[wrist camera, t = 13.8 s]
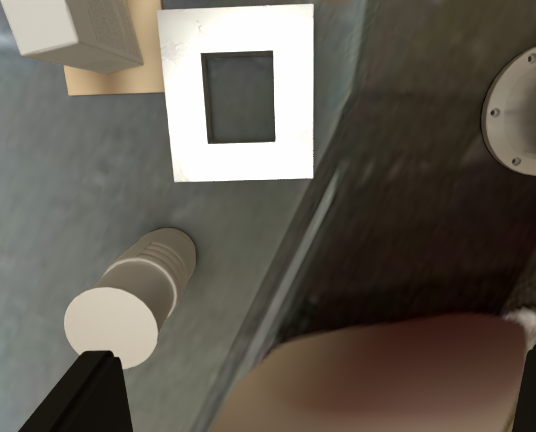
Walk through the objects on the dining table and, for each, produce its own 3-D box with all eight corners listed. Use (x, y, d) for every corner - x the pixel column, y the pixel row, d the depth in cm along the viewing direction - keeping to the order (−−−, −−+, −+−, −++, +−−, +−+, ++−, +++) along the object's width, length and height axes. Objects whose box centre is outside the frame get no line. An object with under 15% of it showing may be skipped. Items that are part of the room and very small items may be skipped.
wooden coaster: (159, -23, 32) (157, -26, 32) (171, 92, 35) (169, 91, 35) (52, -19, 33) (48, -21, 32) (72, 95, 35) (68, 95, 35)
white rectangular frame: (309, 13, 33) (313, 3, 30) (309, 173, 37) (312, 177, 34) (166, 19, 33) (156, 10, 31) (182, 176, 37) (174, 181, 35)
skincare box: (82, 8, 33) (-22, -50, 21) (126, -3, 32) (45, -68, 21) (104, 77, 34) (18, 57, 23) (146, 67, 34) (80, 42, 23)
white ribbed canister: (191, 217, 39) (143, 277, 24) (206, 275, 41) (169, 362, 26) (131, 228, 39) (48, 294, 25) (148, 285, 41) (81, 376, 27)
